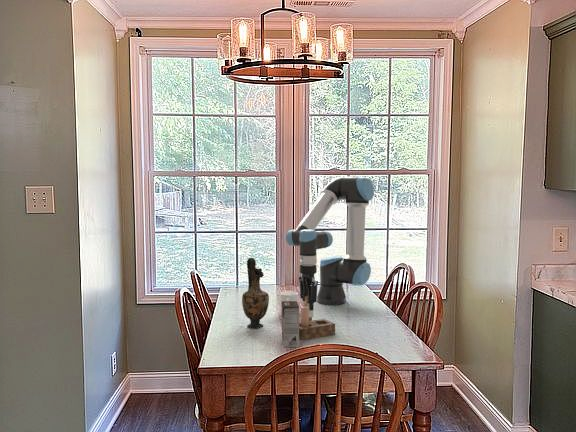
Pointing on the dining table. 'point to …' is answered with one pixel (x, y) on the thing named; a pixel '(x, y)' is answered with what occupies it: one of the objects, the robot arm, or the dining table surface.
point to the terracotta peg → (304, 316)
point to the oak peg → (306, 306)
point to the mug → (288, 297)
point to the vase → (254, 296)
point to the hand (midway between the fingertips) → (308, 315)
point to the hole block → (316, 329)
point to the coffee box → (290, 323)
